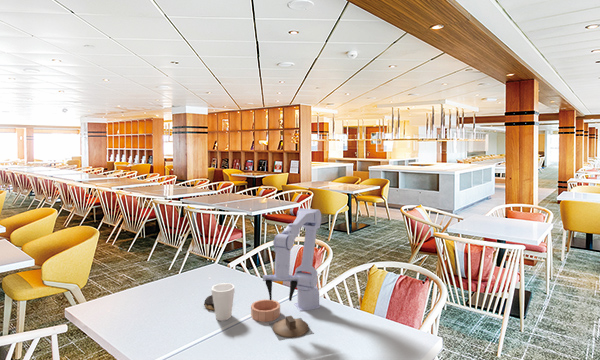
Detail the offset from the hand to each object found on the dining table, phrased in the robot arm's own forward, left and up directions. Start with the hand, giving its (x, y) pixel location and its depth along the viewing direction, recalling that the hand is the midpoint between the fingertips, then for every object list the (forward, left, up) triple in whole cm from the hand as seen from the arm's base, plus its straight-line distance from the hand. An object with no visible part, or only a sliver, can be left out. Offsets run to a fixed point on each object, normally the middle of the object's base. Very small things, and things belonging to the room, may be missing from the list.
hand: (280, 299), depth 145 cm
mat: (-4, +1, -12) cm, 13 cm away
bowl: (+2, -14, -12) cm, 19 cm away
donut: (+20, -32, -13) cm, 40 cm away
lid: (-4, +1, -12) cm, 13 cm away
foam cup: (+19, -19, -13) cm, 30 cm away
